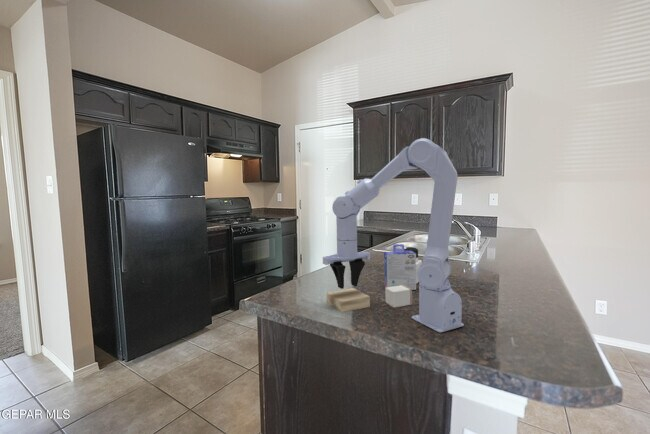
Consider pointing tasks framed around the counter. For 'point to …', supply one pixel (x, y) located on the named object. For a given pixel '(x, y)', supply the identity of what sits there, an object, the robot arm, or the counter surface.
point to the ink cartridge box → (400, 267)
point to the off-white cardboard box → (398, 296)
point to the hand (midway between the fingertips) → (347, 286)
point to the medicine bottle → (418, 262)
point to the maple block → (348, 299)
